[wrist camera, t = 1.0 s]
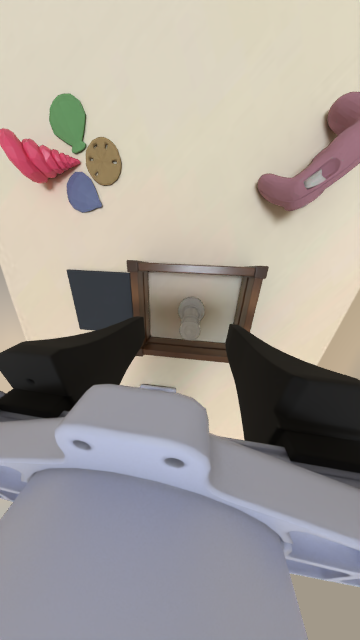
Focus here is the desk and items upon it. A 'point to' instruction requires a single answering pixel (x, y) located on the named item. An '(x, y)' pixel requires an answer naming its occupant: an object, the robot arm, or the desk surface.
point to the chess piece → (190, 317)
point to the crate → (189, 347)
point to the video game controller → (321, 160)
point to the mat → (101, 297)
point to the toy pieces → (47, 163)
